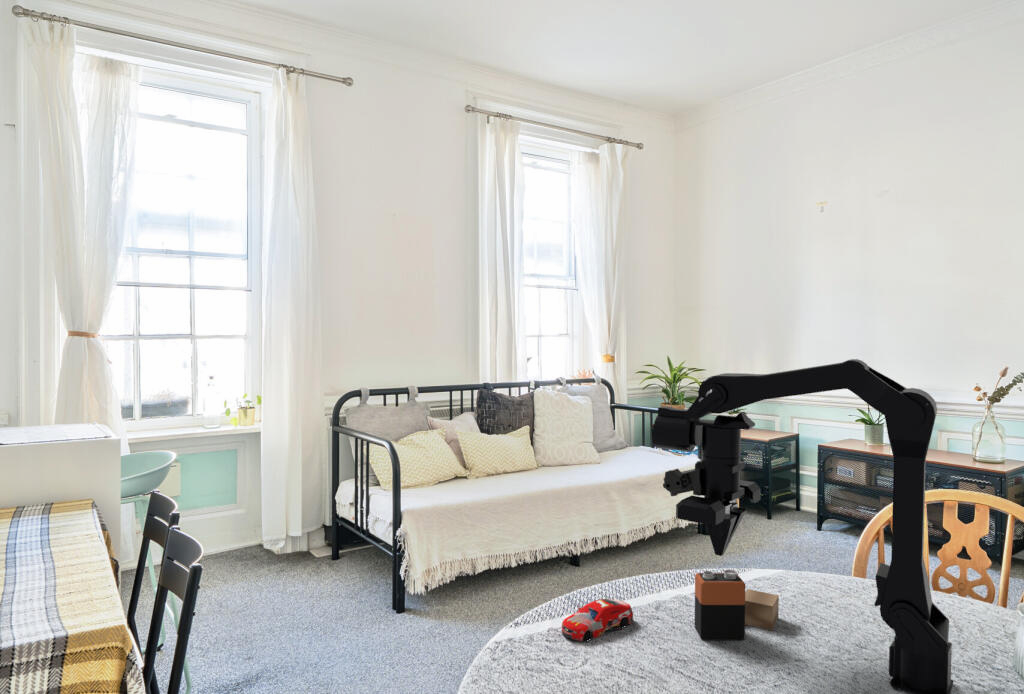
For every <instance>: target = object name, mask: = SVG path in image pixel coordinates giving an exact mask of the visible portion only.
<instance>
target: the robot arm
mask: <svg viewBox="0 0 1024 694" xmlns="http://www.w3.org/2000/svg"><path fill="white" fill-rule="evenodd" d="M836 390H837V391H839V390H849V391H850V392H852V393H853V394H855V395H856V396H857V397H858V398H860V399H861V400H862V401H863V402H864V403H866V404H867V405H869V406H870V407H871V408H873V409H874V410H875V411H876V412H879V413H880V414H882V415H883V416H884V419H885V425H886V430H887V437H888V441H889V446H890V449H891V454H892V457H893V477H892V478H893V480H892V482H893V483H892V518H891V520H892V521H891V523H892V527H891V529H892V530H891V558H890V559H891V560H890V565H889V564H886V563H883V562H880V563H879V566H878V568H877V571H876V574H875V584H876V589H877V595H876V596H875V597H876V598H875V601H874V605H873V606H875V607H878V606H879V612H880V617H881V619H882V621H883V622H885V624H886V625H887V626H888V627H889V628H890V629H891V630H893V632H894V634H895V635H894V638H893V640H892V642H891V643H890V646H889V648H888V651H889V652H888V653H889V654H888V675H889V676H890V678H891V679H890V681H889V686H890V687H892V688H894V689H897V690H899V691H903V692H907V693H909V694H951V692H952V689H953V686H954V680H953V679H952V648H953V645H952V642H950V641H949V634H950V632H949V630H950V618H948V617H947V616H946V615H945V614H944V613H943V612H942V610H940V608H938V606H937V605H936V604H935V603H934V602H933V599H932V591H931V588H930V582H929V576H928V572H927V567H926V564H925V559H924V546H925V545H924V543H925V541H924V538H925V536H924V535H925V530H924V529H925V504H926V503H925V500H926V498H925V497H926V467H927V466H926V464H927V463H926V461H927V457H928V456H927V455H928V450H929V447H930V442H931V438H932V436H933V435H932V434H933V430H934V426H935V422H936V418H937V413H938V407H937V403H936V401H935V398H933V397H932V395H931V394H929V393H928V392H927V391H925V390H923V389H920V388H915V387H910V388H907V387H905V386H903V385H902V384H900V383H898V382H897V381H895V380H894V379H892V378H890V377H888V376H886V375H884V374H883V373H881V372H880V371H877V370H876V369H874V368H872V367H871V366H869V365H868V364H867V363H866V362H864V360H860V359H858V358H855V359H853V358H851V359H847V360H845V361H842V362H837V363H831V364H824V365H817V366H810V367H803V368H798V369H791V370H784V371H778V372H771V373H766V374H762V373H761V374H760V373H745V372H744V373H740V372H739V373H733V372H732V373H730V372H729V373H719V374H716V375H712V376H711V375H710V376H708V377H706V378H705V379H703V381H702V382H701V384H700V385H699V387H698V392H697V393H698V396H697V397H696V399H695V400H694V401H693V402H692V403H691V405H690V406H689V407H688V408H687V409H685V408H675V407H671V406H660V407H658V408H657V415H656V416H655V419H654V422H653V423H654V424H653V428H652V429H651V439H652V444H653V446H654V447H655V448H656V449H662V450H671V451H679V452H688V453H691V452H693V451H694V449H695V447H700V445H701V460H698V461H696V462H695V464H694V468H693V469H688V470H683V471H681V470H680V469H679V468H675V469H670V470H668V471H665V472H664V477H663V483H662V487H663V489H664V490H666V491H667V492H669V494H670V497H675V496H678V495H680V494H684V493H688V492H689V493H690V492H692V494H691V495H689V496H687V497H685V498H683V499H681V500H680V501H679V502H678V503H677V504H675V518H676V519H677V520H683V521H686V522H687V521H688V522H692V523H698V524H703V525H705V526H706V529H707V532H708V534H709V539H710V541H711V545H712V549H713V551H714V554H715V555H716V556H719V557H722V556H723V555H725V553H726V550H727V549H728V547H729V545H730V543H731V541H732V539H733V537H734V534H735V533H736V531H737V529H738V527H739V525H740V523H741V522H742V519H743V518H744V516H745V514H746V513H747V510H748V509H746V508H744V507H739V503H738V502H737V500H740V499H741V498H744V499H749V501H750V503H751V504H756V503H758V502H759V501H761V499H762V497H761V493H762V492H761V489H762V488H761V487H760V486H759V485H758V484H757V482H755V481H749V480H742V479H741V471H742V470H743V469H745V468H746V465H745V464H746V462H745V461H741V438H742V437H741V435H742V434H741V433H742V431H741V430H745V431H747V430H750V429H752V428H754V427H755V426H756V422H755V421H753V420H752V419H751V418H750V417H748V415H747V414H746V412H745V411H741V412H739V413H738V414H737V415H736V416H735V415H734V416H733V415H724V413H726V412H729V411H733V410H737V409H740V408H742V407H745V406H749V405H752V404H755V403H758V402H760V401H765V400H771V399H779V398H786V397H792V396H793V397H794V396H800V395H801V396H802V395H809V394H816V393H824V392H830V391H836ZM713 414H719V415H717V416H715V418H714V419H701V418H704V417H707V416H709V415H713ZM722 414H723V415H722Z"/></svg>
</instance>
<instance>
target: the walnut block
mask: <svg viewBox="0 0 1024 694" xmlns="http://www.w3.org/2000/svg"><path fill="white" fill-rule="evenodd" d="M779 597H780V595H778V594H774V593H768V592H766V591H765V592H763V591H759V590H753V589H749V588H746V589H745V625H749V626H753V627H757V628H761V629H765V630H770V631H773V630H774V629H775V626H776V624H777V622H778V621H779V620H778V619H779V604H780V603H779V601H780V600H779Z"/></svg>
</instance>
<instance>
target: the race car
mask: <svg viewBox="0 0 1024 694" xmlns="http://www.w3.org/2000/svg"><path fill="white" fill-rule="evenodd" d="M577 609H578V610H577V611H576V612H574V613H572V614H571V615H569V616H567V617H566V618H564V619H563V620H562V623H561V633H562V635H563V636H565V637H566V638H568V639H570V640H574V641H580V642H584V641H586V642H588V641H587V640H589V639H591V640H592V639H595V638H598V637H600V636H603V635H606V634H608V633H611V632H613V631H616V630H619V629H623V628H625V627H624V626H627V627H628V625H630V624H631V623H632V622H633V621H634V612H633V608H632V606H631V604H629V603H627V602H625V601H623V600H621V599H616V598H615V599H613V598H612V599H611V598H600V599H598V600H597V599H596V600H593V601H591V602H589V603H587V604H585V605H583V606H582V607H580V606H579V607H578V608H577ZM622 627H623V628H622ZM589 641H590V640H589Z"/></svg>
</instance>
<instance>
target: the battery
mask: <svg viewBox="0 0 1024 694" xmlns="http://www.w3.org/2000/svg"><path fill="white" fill-rule="evenodd" d="M745 592H746V583H745V581H744V580H743V579H742V578H741V577H740V576H739V573H738V572H737V571H736V570H733V569H724V570H723V571H722V572H713V571H711V570H704V571H703V572H697V573H695V575H694V629H695V630H696V632H697V634H698V636H699V638H700V639H701V640H703V641H743V640H745V638H746V637H745V636H746V624H745Z"/></svg>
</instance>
